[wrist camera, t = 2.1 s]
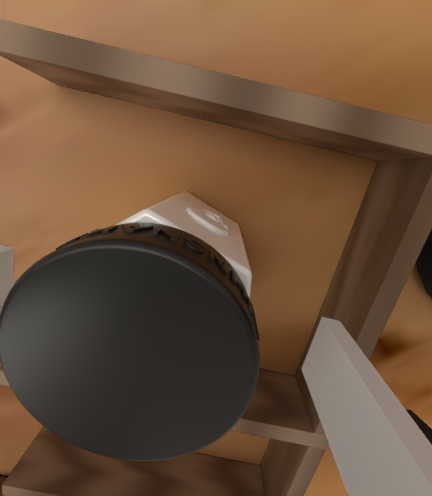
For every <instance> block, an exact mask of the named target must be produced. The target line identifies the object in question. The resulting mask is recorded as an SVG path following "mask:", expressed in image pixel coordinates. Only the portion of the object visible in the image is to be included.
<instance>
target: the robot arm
mask: <svg viewBox="0 0 432 496" xmlns="http://www.w3.org/2000/svg"><path fill="white" fill-rule="evenodd" d="M13 286H14V254H13V248H12V247H7V246H3V245H0V313H1V310H2V307H3V304H4V302H5V300H6V298H7V295H8V293H9V292H10V290H11V289H12V287H13ZM302 372H303V375H304V378H305V380H306V383H307V386H308V388H309V391H310V394H311V397H312V399H313V402H314V405H315V407H316V410H317V413H318V416H319V418H320V421H321V424H322V426H323V429H324V432H325V435H326V437H327V440H328V443H329V445H330V448H331V451H332V454H333V456H334V459H335V462H336V465H337V467H338V470H339V473H340V475H341V478H342V481H343V484H344V486H345V489H346V492H347V494H348V496H432V429H431V428H430V427H429V426H428V425H427V424H425V423H424V422H423V421H422V420H421V419H420V418H419V417H418V416H417V415H416V414H415V413H413V412H412V411H411V410H406V409H405V408H404V407H403V405H402V404H401V403H400V401H399V400H398V399H397V397H396V396H395V395H394V393H393V392H392V391H391V389H390V388H389V387H388V385H387V384H386V383H385V381H384V380H383V379H382V377H381V376H380V375H379V373H378V372H377V371H376V369H375V368H374V366H373V365H372V364H371V362H370V361H369V360H368V358H367V357H366V356H365V354H364V353H363V352H362V350H361V349H360V348H359V346H358V345H357V344H356V342H355V341H354V340H353V338H352V337H351V336H350V334H349V333H348V332H347V330H346V329H345V327H344V326H343V325H342V323H341V322H340V321H338V320H334V319H329V318H325V317H322V318H321V320H320V323H319V325H318V328H317V331H316V333H315V336H314V338H313V341H312V343H311V346H310V348H309V351H308V353H307V356H306V358H305V361H304V364H303V366H302Z"/></svg>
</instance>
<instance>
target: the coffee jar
mask: <svg viewBox="0 0 432 496" xmlns="http://www.w3.org/2000/svg"><path fill="white" fill-rule="evenodd" d="M417 265H418V271H419V274H420V277H421V280H422V283H423V286H424V289H425V290H426V292H427V293H428V294H429V296H430V297H431V298H432V229H431V231H430V233H429V235H428V237H427V240H426V242H425V244H424V246H423V248H422V250H421V252H420V254H419V256H418V258H417Z"/></svg>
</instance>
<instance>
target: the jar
mask: <svg viewBox="0 0 432 496" xmlns="http://www.w3.org/2000/svg"><path fill="white" fill-rule="evenodd" d="M251 282H252V272H251V268H250V264H249V261H248V257H247V253H246V249H245V246H244V242H243V238H242V235H241V231H240V227H239V225H238V224H237V223H236V222H234V221H233V220H231V219H230V218H228V217H226V216H225V215H223V214H222V213H220V212H218V211H217V210H215V209H214V208H212V207H211V206H209V205H207V204H206V203H204V202H203V201H201V200H200V199H198V198H196V197H195V196H193V195H192V194H190V193H189V192H187V191H182V192H180V193H178V194H176V195H174V196H172V197H169V198H167V199H165V200H163V201H161V202H158V203H156V204H154V205H152V206H150V207H147V208H145V209H143V210H141V211H140V212H138V213H136V214H134V215H132V216H131V217H129V218H127V219H125V220H123V221H122V222H120V223H118V224H116V225H114V226H111V227H107V228H104V229H97V230H94V231H91V233H89V234H88V233H86V234H84V235H82V236H80V237H77V238H75V239H73V240H71V241H69V242H67V243H65V244H63V245H61V246H60V247H58V248H56V251H54V252H52V253H50V254H48V255H46V256H45V257H43V258H41V259H40V260H39V261H37V262H36V263H35V264H33V265H32V266H31V267H30V268H29V269H28V270H26V271H25V272H24V273H23V274H22V276H21V277H20V278H19V279H18V280H17V281H16V283H15V284H14V286H13V287H12V289H11V290H10V292H9V293H8V295H7V298H6V300H5V302H4V304H3V307H2V310H1V313H0V362H1V366H2V369H3V372H4V374H5V377H6V379H7V381H8V383H9V385H10V387H11V389H12V390H13V392H14V393H15V395H16V397H17V398H18V399H19V401H20V402H21V403H22V405H23V406H24V407H25V408H26V409H27V410H28V412H29V413H30V414H31V415H32V416H33V417H34V418H35V419H37V420H38V421H39V422H40V423H41V424H42V425H43V426H45V427H46V428H47V429H48V430H50V431H51V432H53V433H54V434H56V435H57V436H59V437H60V438H62V439H64V440H65V441H67V442H69V443H71V444H73V445H75V446H77V447H80V448H82V449H84V450H87V451H90V452H93V453H95V454H99V455H102V456H106V457H111V458H116V459H122V460H130V461H157V460H166V459H172V458H176V457H180V456H184V455H187V454H190V453H193V452H196V451H198V450H200V449H203V448H205V447H207V446H208V445H210V444H212V443H214V442H215V441H217V440H218V439H220V438H221V437H222V436H224V435H225V434H226V433H227V432H228V431H229V430H230V429H231V428H232V427H233V426H234V425H235V424H236V423H237V422H238V421H239V419H240V418H241V417H242V416H243V414H244V413H245V411H246V410H247V408H248V406H249V404H250V402H251V400H252V398H253V396H254V393H255V390H256V387H257V382H258V377H259V369H260V355H259V347H258V341H257V340H259V334H258V330H257V323H256V319H255V314H254V310H253V306H252V303H251V301H250V294H251Z"/></svg>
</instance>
